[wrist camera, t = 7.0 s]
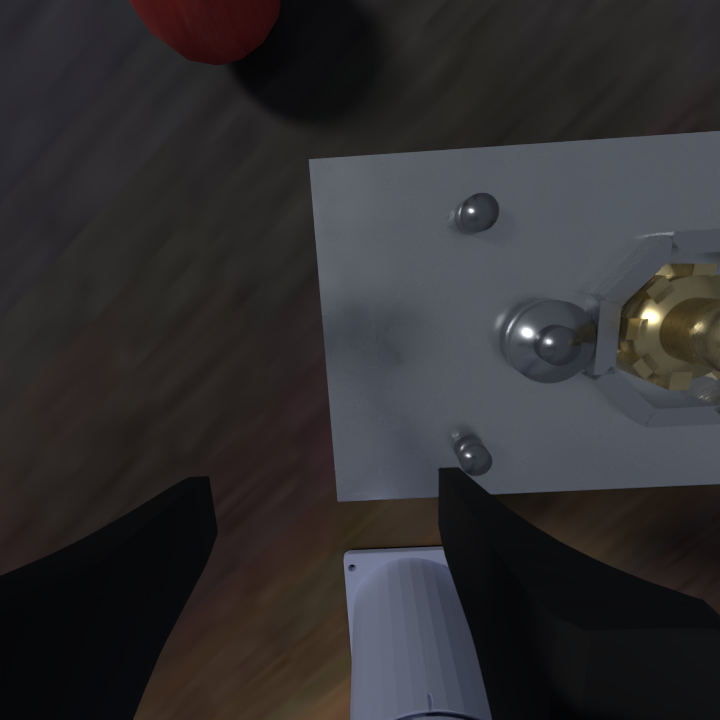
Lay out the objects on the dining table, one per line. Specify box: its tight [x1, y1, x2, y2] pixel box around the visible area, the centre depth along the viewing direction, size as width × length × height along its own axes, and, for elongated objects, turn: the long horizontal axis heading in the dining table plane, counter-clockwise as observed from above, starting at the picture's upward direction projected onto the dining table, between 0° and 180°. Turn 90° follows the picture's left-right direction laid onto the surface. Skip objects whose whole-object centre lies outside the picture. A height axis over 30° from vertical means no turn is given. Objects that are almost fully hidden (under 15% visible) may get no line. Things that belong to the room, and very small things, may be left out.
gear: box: [616, 264, 720, 390], centre depth 17 cm, size 6×6×5 cm
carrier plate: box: [309, 131, 720, 501], centre depth 19 cm, size 18×23×3 cm
